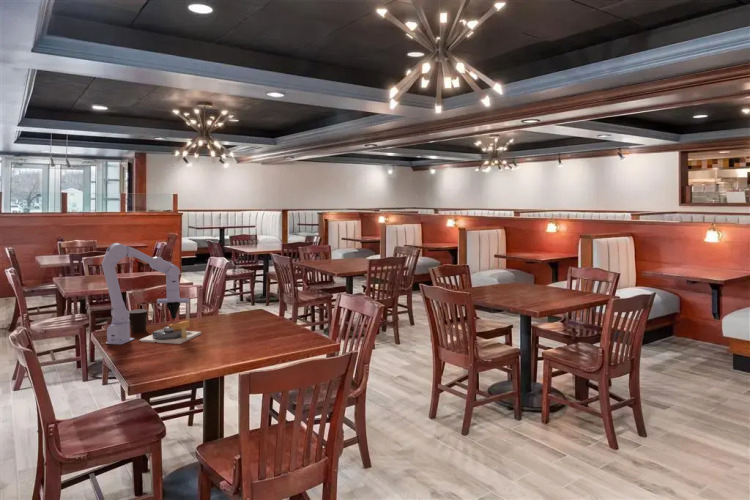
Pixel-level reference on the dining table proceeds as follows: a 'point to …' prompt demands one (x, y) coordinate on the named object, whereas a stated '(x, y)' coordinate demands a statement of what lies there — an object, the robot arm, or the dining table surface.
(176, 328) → the dial
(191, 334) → the base board
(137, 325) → the coffee mug
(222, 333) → the dining table surface
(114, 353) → the dining table surface
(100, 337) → the dining table surface
